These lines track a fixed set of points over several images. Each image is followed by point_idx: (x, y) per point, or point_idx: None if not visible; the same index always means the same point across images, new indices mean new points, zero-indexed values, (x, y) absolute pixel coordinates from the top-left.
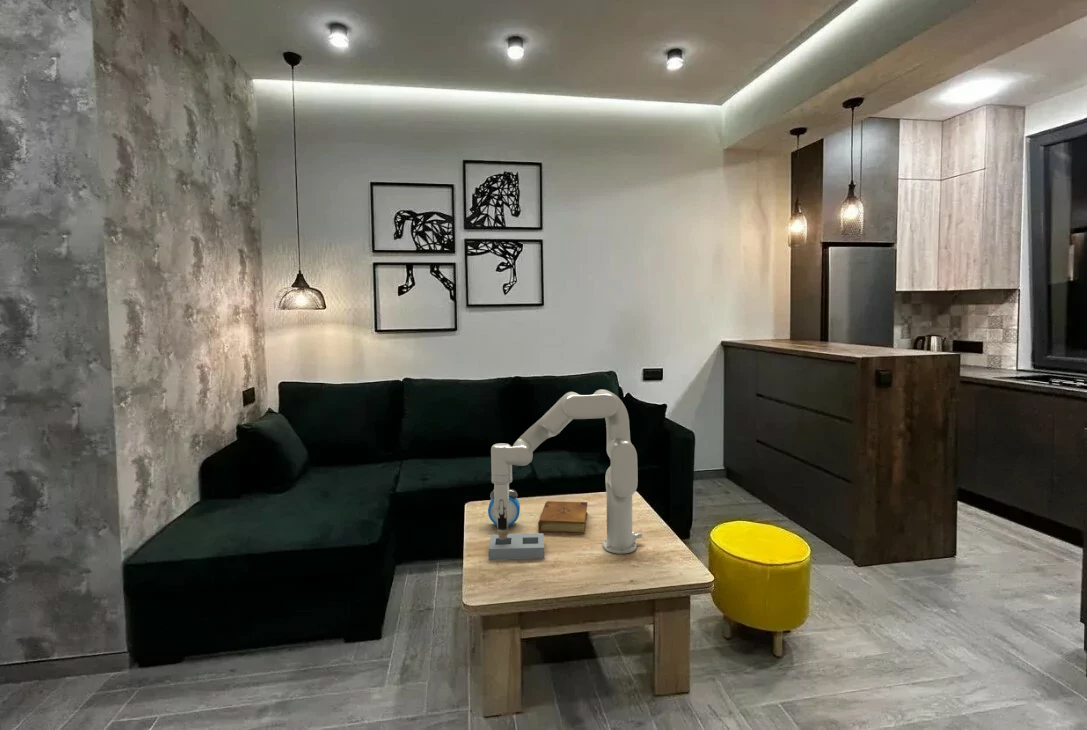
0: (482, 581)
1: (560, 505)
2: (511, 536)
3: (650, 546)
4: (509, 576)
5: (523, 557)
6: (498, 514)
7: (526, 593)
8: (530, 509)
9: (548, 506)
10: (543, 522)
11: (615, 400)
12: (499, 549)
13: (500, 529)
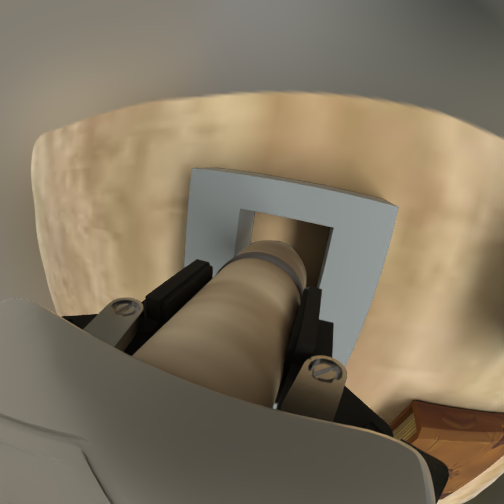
0: (85, 151)
1: (473, 468)
2: (330, 315)
3: None
4: (100, 233)
5: None
6: (95, 320)
7: (51, 259)
8: None
9: (493, 447)
10: (409, 439)
11: None
12: (189, 225)
13: (217, 273)
